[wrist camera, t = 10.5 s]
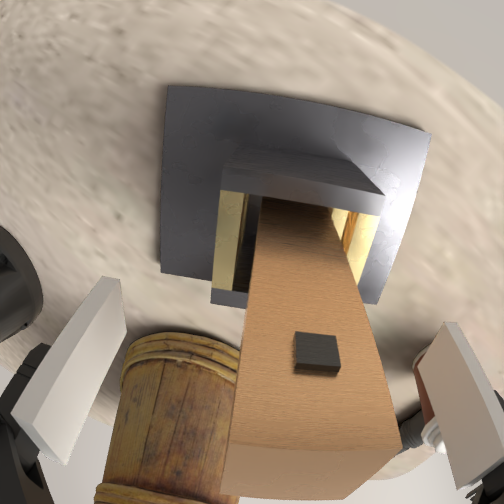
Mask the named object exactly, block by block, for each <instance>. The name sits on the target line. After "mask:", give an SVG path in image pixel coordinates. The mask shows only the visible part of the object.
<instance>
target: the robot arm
mask: <svg viewBox="0 0 504 504" xmlns="http://www.w3.org/2000/svg"><path fill="white" fill-rule="evenodd" d="M42 305H43V295H42V289H41V285H40V282H39V279H38V276H37V274H36V271H35V269H34V267H33V265H32V263H31V261H30V260H29V258H28V256H27V255H26V253H25V252H24V250H23V249H22V247H21V246H20V245H19V244H18V242H17V241H16V240H15V239H14V238H13V237H12V236H11V235H10V234H9V233H8V232H7V231H6V230H4V229H3V228H2V227H0V343H1V342H3V341H4V340H6V339H8V338H10V337H11V336H13V335H15V334H16V333H18V332H19V331H21V330H24V329H26V328H27V327H29V326H30V325H31V324H32V323H33V321H34V320H35V319H36V318H37V316H38V315H39V314H40V312H41V310H42ZM126 333H127V329H126V323H125V316H124V309H123V302H122V294H121V285H120V279H115V278H110V277H105V276H102V277H101V278H100V280H99V281H98V282H97V284H96V285H95V286H94V288H93V289H92V290H91V292H90V293H89V294H88V296H87V297H86V298H85V300H84V301H83V302H82V304H81V305H80V306H79V308H78V309H77V311H76V312H75V313H74V315H73V316H72V318H71V319H70V320H69V322H68V323H67V325H66V326H65V328H64V329H63V330H62V332H61V333H60V335H59V336H58V338H57V339H56V341H55V342H54V344H53V345H52V346H49V345H46V344H43V343H41V344H39V345H38V346H37V347H35V348H34V349H33V350H31V351H30V352H29V354H28V355H27V357H26V358H25V360H24V361H23V364H22V365H20V367H19V368H18V370H17V373H16V374H15V375H14V376H13V378H12V379H11V381H10V382H9V384H8V386H7V387H6V389H5V390H4V392H3V394H2V395H1V397H0V504H54V501H53V499H52V497H51V494H50V492H49V489H48V486H47V483H46V480H45V477H44V475H43V472H42V469H41V465H40V462H39V460H38V458H37V456H38V454H39V451H41V452H42V453H43V454H44V456H45V457H46V458H48V459H50V460H53V461H55V462H57V463H59V464H62V465H64V466H66V465H67V463H68V460H69V458H70V455H71V453H72V450H73V448H74V446H75V443H76V441H77V438H78V436H79V434H80V431H81V429H82V427H83V424H84V422H85V420H86V417H87V415H88V413H89V411H90V408H91V406H92V404H93V402H94V400H95V397H96V395H97V393H98V391H99V389H100V387H101V384H102V382H103V380H104V378H105V376H106V374H107V372H108V370H109V368H110V366H111V364H112V361H113V359H114V357H115V355H116V353H117V351H118V349H119V347H120V345H121V343H122V341H123V339H124V337H125V335H126ZM417 367H418V370H419V372H420V375H421V377H422V380H423V383H424V385H425V388H426V391H427V394H428V397H429V399H430V402H431V405H432V408H433V411H434V414H435V417H436V420H437V423H438V426H439V429H440V432H441V435H442V439H443V442H444V445H445V448H446V452H447V455H448V459H449V462H450V466H451V469H452V473H453V477H454V481H455V484H456V489H457V490H461V489H464V488H467V487H470V486H472V485H474V484H475V483H476V482H478V481H479V480H481V479H482V482H483V483H482V484H481V485H480V486H478V487H477V488H475V489H474V490H472V491H471V492H469V493H468V494H467V496H466V497H465V498H469V497H470V496H472V495H473V494H475V493H476V494H475V496H473V497H472V498H471V499H470V500H471V501H473V502H472V504H504V400H503V398H502V397H501V396H500V395H499V394H498V393H497V391H496V390H493V388H492V386H491V384H490V382H489V380H488V378H487V376H486V374H485V372H484V370H483V368H482V366H481V365H480V363H479V361H478V359H477V357H476V355H475V353H474V352H473V350H472V348H471V346H470V344H469V343H468V341H467V339H466V337H465V336H464V334H463V332H462V331H461V329H460V327H459V325H458V324H457V323H454V322H444V323H443V325H442V326H441V328H440V330H439V332H438V333H437V335H436V337H435V339H434V340H433V342H432V344H431V345H430V347H429V349H428V350H427V352H426V353H425V355H424V357H423V358H422V360H421V361H420V363H419V365H418V366H417Z"/></svg>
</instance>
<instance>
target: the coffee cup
mask: <svg viewBox="0 0 504 504" xmlns="http://www.w3.org/2000/svg"><path fill="white" fill-rule="evenodd" d="M430 345H431V344H430ZM430 345H428V346H427V347H425V348H424V349H423V350H422V351H420V352H419V353H418V355H417V356H416V358H415V359H414V361H413V365H412V368H413V371H414V375H415V380H416V384H417V388H418V393H419V397H420V402H421V407H422V412H423V417H424V422H425V427H424V429H423V431H422V433H421V436H422V440H423V442H424V444H425V445H427V446H431V447H434V448H435V451H436V452H437V453H441V454H446V453H447V452H446V448H445V445H444V442H443V439H442V435H441V432H440V429H439V426H438V423H437V420H436V417H435V414H434V411H433V408H432V405H431V402H430V399H429V397H428V394H427V391H426V388H425V385H424V383H423V380H422V377H421V375H420V372H419V370H418V367H417V366H418V365H419V363H420V361H421V360H422V358H423V357H424V355H425V353H426V352H427V350H428V349H429V347H430Z"/></svg>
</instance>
